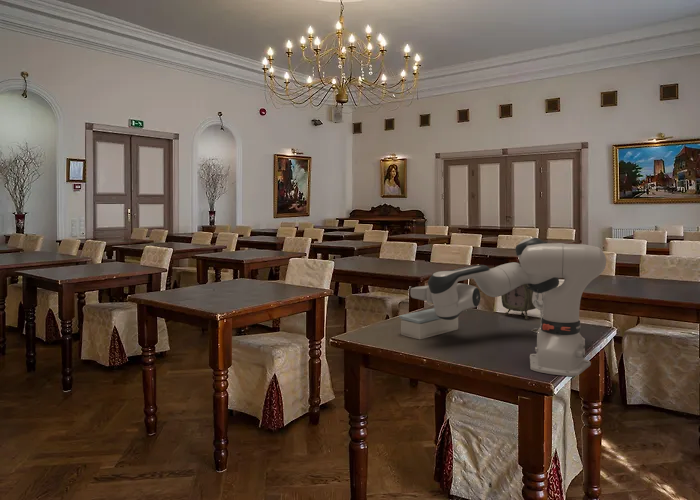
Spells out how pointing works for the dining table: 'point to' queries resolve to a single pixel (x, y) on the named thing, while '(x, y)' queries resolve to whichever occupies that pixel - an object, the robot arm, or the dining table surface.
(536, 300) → the wineglass
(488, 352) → the dining table surface
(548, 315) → the robot arm
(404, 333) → the white open box
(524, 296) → the tabletop clock
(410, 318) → the panel
